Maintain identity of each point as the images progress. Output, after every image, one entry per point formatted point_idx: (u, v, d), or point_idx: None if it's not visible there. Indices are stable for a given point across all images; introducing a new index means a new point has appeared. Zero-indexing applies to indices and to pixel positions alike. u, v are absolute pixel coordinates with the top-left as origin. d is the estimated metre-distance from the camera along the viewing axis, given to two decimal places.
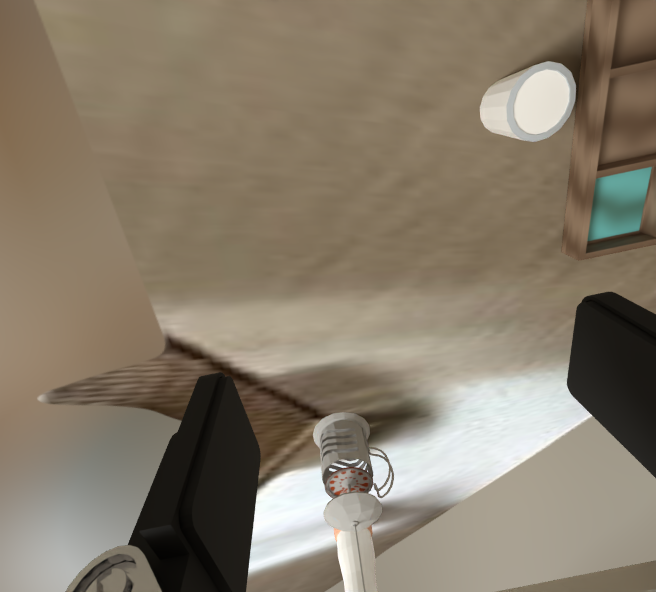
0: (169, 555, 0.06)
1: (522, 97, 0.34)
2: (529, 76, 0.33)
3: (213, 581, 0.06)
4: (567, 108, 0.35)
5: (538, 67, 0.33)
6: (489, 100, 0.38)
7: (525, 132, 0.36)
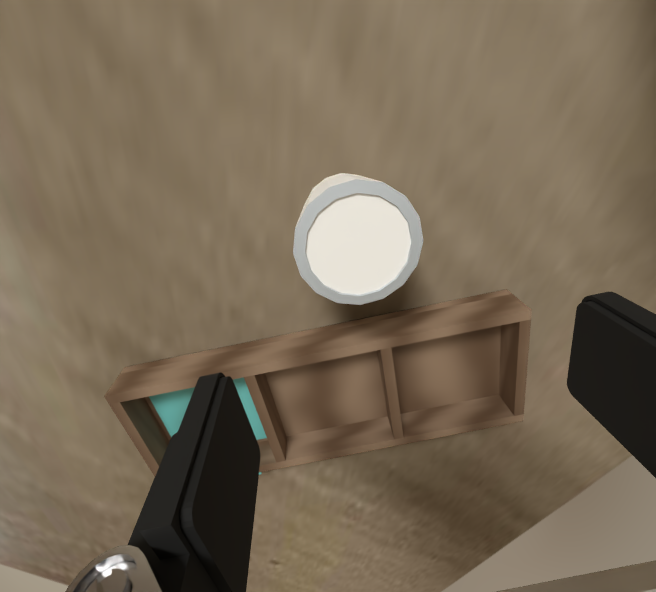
0: (169, 555, 0.06)
1: (369, 208, 0.18)
2: (403, 213, 0.18)
3: (213, 581, 0.06)
4: (349, 295, 0.20)
5: (415, 226, 0.18)
6: None
7: (309, 230, 0.18)
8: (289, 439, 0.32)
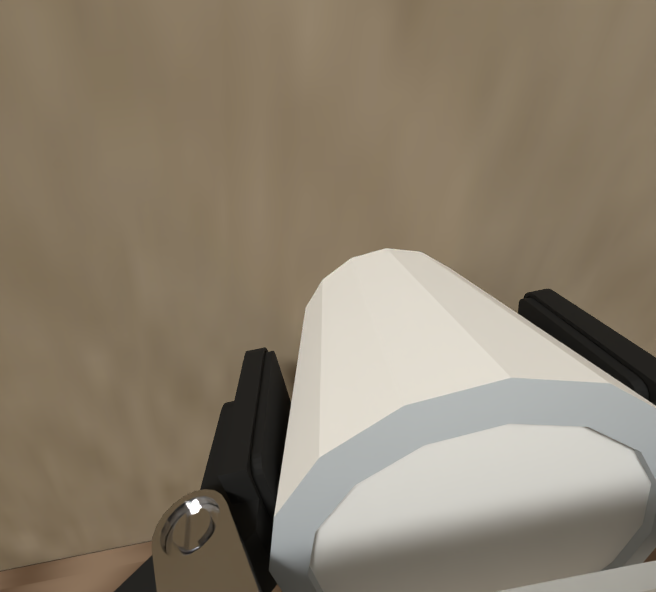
0: (241, 500, 0.06)
1: (537, 456, 0.05)
2: (648, 463, 0.05)
3: None
4: None
5: None
6: (432, 271, 0.09)
7: (321, 522, 0.05)
8: None
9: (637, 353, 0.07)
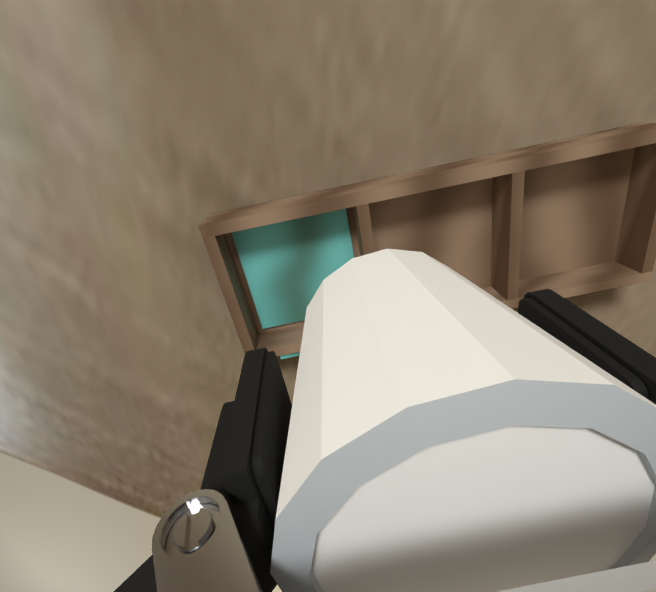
0: (241, 499, 0.06)
1: (541, 458, 0.05)
2: (652, 465, 0.05)
3: None
4: None
5: None
6: (434, 271, 0.09)
7: (323, 524, 0.05)
8: None
9: (637, 353, 0.07)
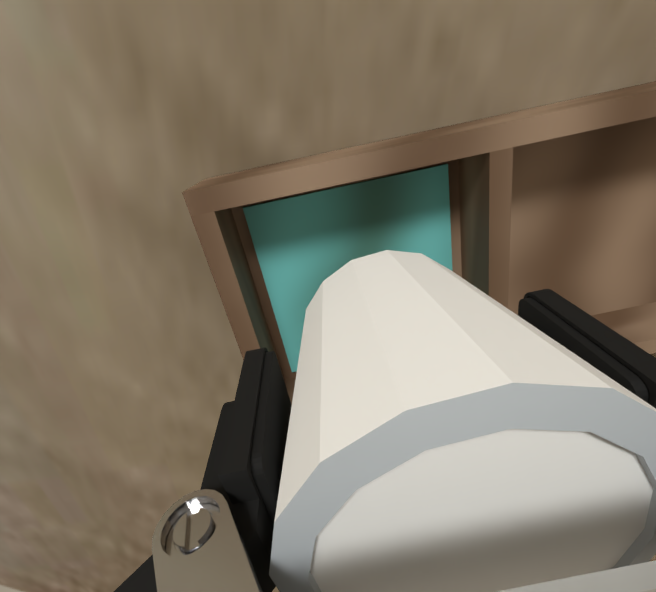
0: (241, 499, 0.06)
1: (539, 461, 0.05)
2: (651, 468, 0.05)
3: None
4: None
5: None
6: (433, 273, 0.09)
7: (322, 527, 0.05)
8: None
9: (637, 353, 0.07)
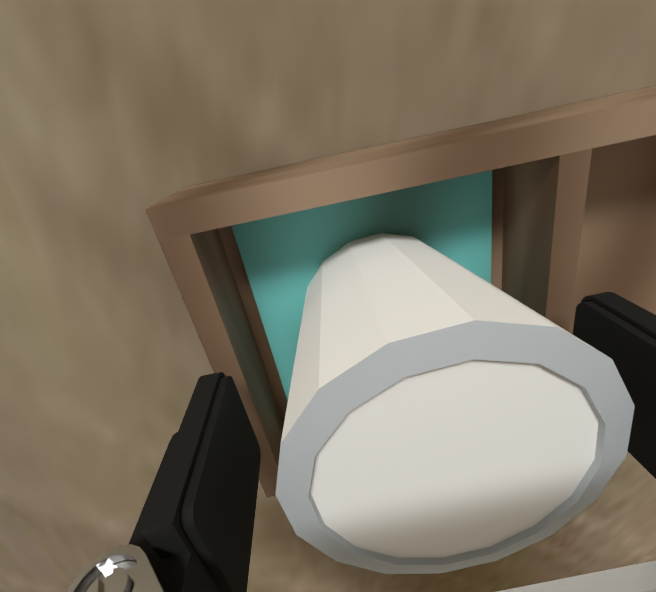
0: (170, 554, 0.06)
1: (500, 392, 0.06)
2: (594, 400, 0.06)
3: (214, 580, 0.06)
4: (416, 562, 0.08)
5: (620, 428, 0.07)
6: (421, 250, 0.10)
7: (320, 448, 0.06)
8: None
9: None
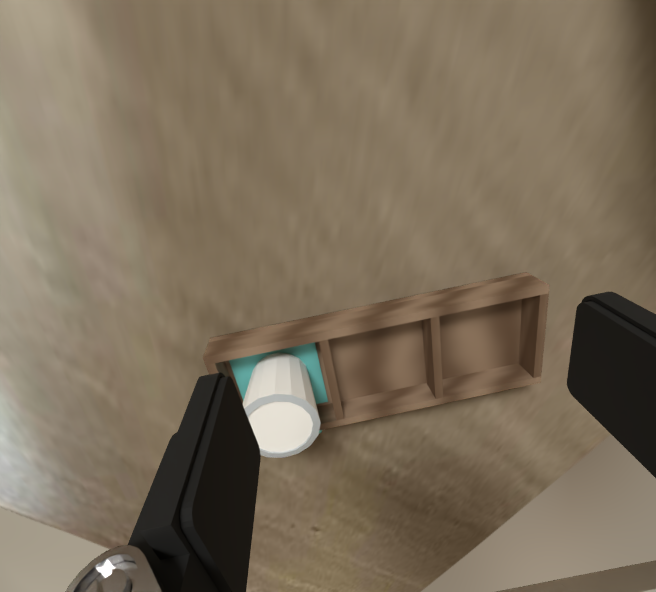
0: (169, 555, 0.06)
1: (284, 407, 0.29)
2: (305, 409, 0.29)
3: (213, 581, 0.06)
4: (275, 453, 0.30)
5: (314, 415, 0.29)
6: (284, 364, 0.33)
7: None
8: (343, 403, 0.38)
9: None
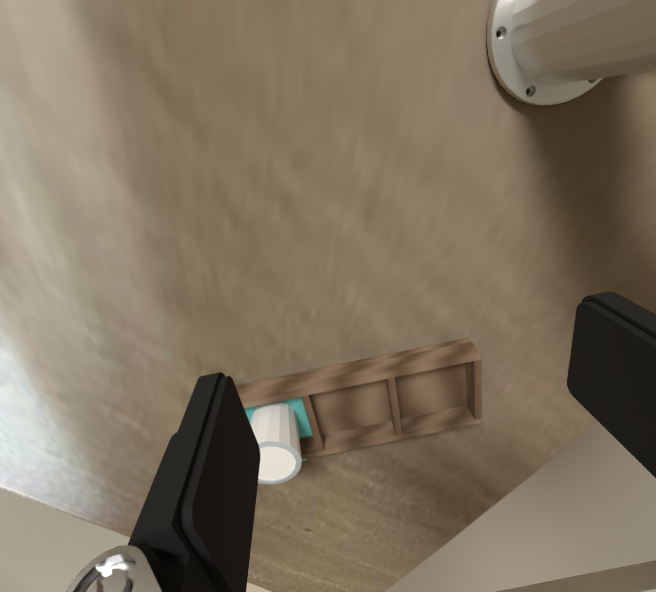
0: (169, 555, 0.06)
1: (274, 450, 0.39)
2: (290, 451, 0.39)
3: (213, 581, 0.06)
4: (268, 481, 0.41)
5: (296, 455, 0.39)
6: (275, 412, 0.43)
7: None
8: (325, 436, 0.48)
9: None
